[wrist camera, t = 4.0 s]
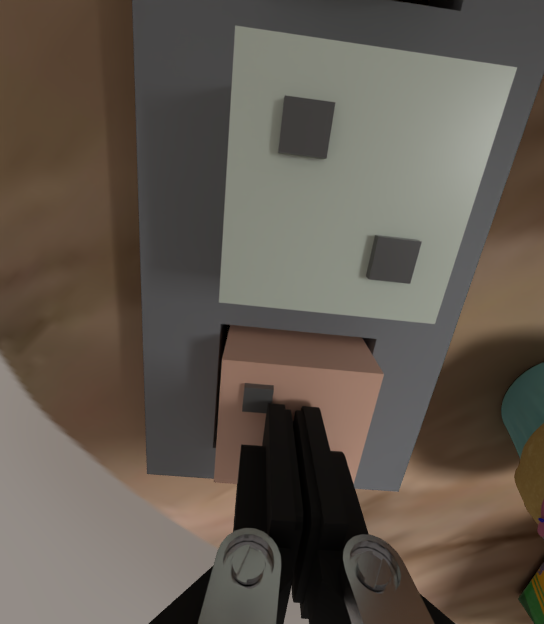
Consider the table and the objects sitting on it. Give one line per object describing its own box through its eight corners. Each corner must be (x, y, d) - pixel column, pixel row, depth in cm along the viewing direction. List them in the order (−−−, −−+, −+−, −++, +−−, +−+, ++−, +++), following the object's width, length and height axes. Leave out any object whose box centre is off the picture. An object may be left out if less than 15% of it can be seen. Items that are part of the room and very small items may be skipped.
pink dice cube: (233, 310, 14) (220, 363, 10) (352, 322, 14) (386, 378, 10) (226, 409, 16) (212, 488, 12) (331, 418, 16) (353, 497, 12)
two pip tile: (247, 85, 9) (234, 19, 5) (420, 110, 10) (527, 62, 6) (234, 261, 11) (217, 306, 7) (380, 276, 11) (439, 328, 8)
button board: (158, -390, 8) (112, -633, 5) (603, -292, 8) (734, -473, 6) (163, 432, 17) (146, 473, 14) (380, 449, 17) (398, 491, 15)
